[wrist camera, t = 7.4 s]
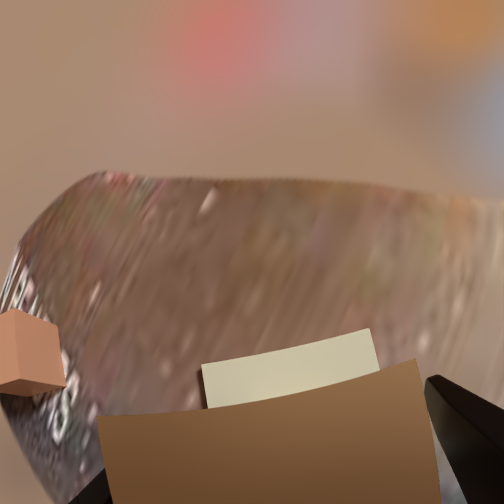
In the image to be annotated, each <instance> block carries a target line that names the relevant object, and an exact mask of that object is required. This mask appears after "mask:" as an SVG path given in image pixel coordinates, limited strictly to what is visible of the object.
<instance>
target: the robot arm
mask: <svg viewBox="0 0 504 504" xmlns="http://www.w3.org/2000/svg"><path fill="white" fill-rule="evenodd" d="M424 396H425V400H426V405H427V410H428V413H429V415H430V418H431V421H432V424H433V427H434V430H435V432H436V435H437V438H438V440H439V442H440V444H441V446H442V449H443V451H444V453H445V455H446V457H447V459H448V461H449V463H450V465H451V467H452V470H453V472H454V474H455V476H456V478H457V481H458V483H459V485H460V487H461V489H462V492H463V494H464V496H465V499H466V501H467V503H468V504H504V410H503V409H502V408H500V407H498V406H496V405H494V404H492V403H490V402H488V401H487V400H485V399H483V398H481V397H479V396H477V395H475V394H474V393H472V392H470V391H468V390H466V389H464V388H463V387H461V386H459V385H457V384H455V383H453V382H452V381H450V380H448V379H446V378H444V377H442V376H441V375H438V374H437V375H434V376H431V377H428V378H427V379H426V382H425V389H424ZM68 504H113V500H112V496H111V492H110V488H109V484H108V479H107V475H106V470H105V468H104V469H103V470H102V471H101V472H100V473H99V474H98V475H97V476H96V477H95V478H94V479H93V480H92V481H91V482H90V483H89V484H88V485H87V486H86V487H85V488H84V489H83V490H82V491H81V492H80V493H79V494H78V496H76V497H75V498H74V499H73V500H72V501H71V502H69V503H68Z"/></svg>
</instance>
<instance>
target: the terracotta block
mask: <svg viewBox="0 0 504 504" xmlns="http://www.w3.org/2000/svg"><path fill="white" fill-rule="evenodd" d="M64 387H67V386H66V380H65V375H64V369H63V364H62V357H61V351H60V344H59V336H58V328H57V326H56V325H54V324H51V323H49V322H47V321H44V320H42V319H39V318H37V317H34V316H32V315H30V314H27V313H25V312H23V311H21V310H18V309H16V308H12V309H11V310H9V311H7V312H5V313H3V314H1V315H0V392H1V393H6V394H12V395H19V396H26V397H29V396H33V395H37V394H41V393H45V392H49V391H53V390H56V389H60V388H64Z"/></svg>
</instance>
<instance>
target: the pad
mask: <svg viewBox="0 0 504 504" xmlns="http://www.w3.org/2000/svg"><path fill="white" fill-rule="evenodd" d="M201 366H202V373H203V380H204V386H205V393H206V399H207V405H208V408H216V407H223V406H230V405H236V404H242V403H248V402H254V401H260V400H265V399H270V398H275V397H280V396H285V395H290V394H294V393H299V392H303V391H307V390H312V389H316V388H320V387H324V386H328V385H331V384H335V383H339V382H343V381H346V380H350V379H353V378H357V377H360V376H363V375H367V374H370V373H373V372H376V371H380V369H379V365H378V361H377V357H376V353H375V349H374V345H373V341H372V337H371V333H370V329H369V328H367V329H364V330H360V331H357V332H353V333H349V334H345V335H342V336H338V337H334V338H330V339H326V340H322V341H318V342H314V343H309V344H305V345H301V346H296V347H292V348H287V349H283V350H278V351H273V352H269V353H264V354H259V355H253V356H248V357H243V358H237V359H232V360H226V361H220V362H214V363H208V364H201Z"/></svg>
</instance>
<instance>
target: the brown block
mask: <svg viewBox="0 0 504 504" xmlns="http://www.w3.org/2000/svg"><path fill="white" fill-rule="evenodd" d="M96 417H97V424H98V431H99V438H100V444H101V449H102V455H103V460H104V465H105V470H106V475H107V479H108V484H109V488H110V492H111V496H112V500H113V504H441V493H440V484H439V476H438V468H437V461H436V454H435V448H434V442H433V436H432V430H431V425H430V420H429V415H428V410H427V405H426V400H425V396H424V391H423V387H422V383H421V378H420V374H419V370H418V366H417V362H416V359H412V360H409V361H406V362H404V363H401V364H398V365H395V366H392V367H389V368H386V369H383V370H380V371H376V372H373V373H370V374H367V375H363V376H360V377H357V378H353V379H350V380H346V381H343V382H339V383H335V384H331V385H328V386H324V387H320V388H316V389H312V390H307V391H303V392H299V393H294V394H290V395H285V396H280V397H275V398H270V399H265V400H260V401H254V402H248V403H242V404H236V405H230V406H223V407H216V408H208V409H200V410H191V411H182V412H171V413H159V414H144V415H121V416H96Z"/></svg>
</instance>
